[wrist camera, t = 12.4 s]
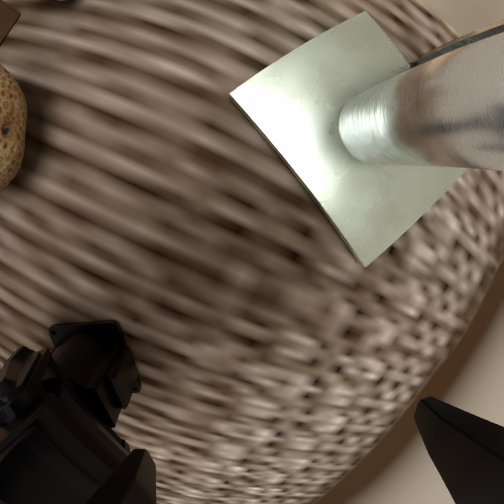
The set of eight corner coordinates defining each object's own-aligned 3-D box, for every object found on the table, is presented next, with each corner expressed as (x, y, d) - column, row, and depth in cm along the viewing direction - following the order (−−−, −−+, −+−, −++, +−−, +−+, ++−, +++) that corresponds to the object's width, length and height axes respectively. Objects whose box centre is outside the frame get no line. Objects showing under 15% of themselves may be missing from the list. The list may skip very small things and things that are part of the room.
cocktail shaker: (365, 179, 18) (572, 214, 4) (324, 114, 17) (514, 33, 3) (414, 143, 18) (601, 144, 4) (377, 82, 16) (554, 13, 3)
